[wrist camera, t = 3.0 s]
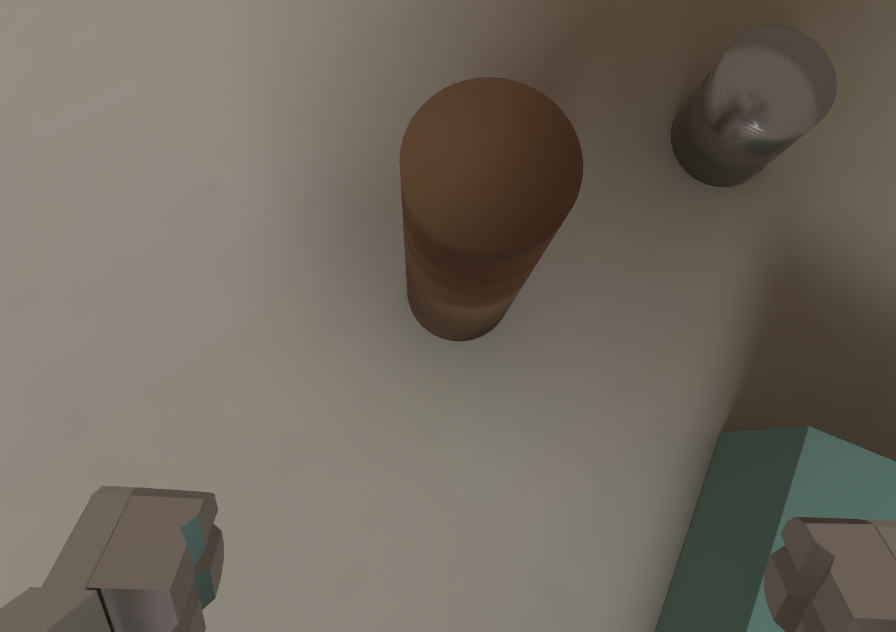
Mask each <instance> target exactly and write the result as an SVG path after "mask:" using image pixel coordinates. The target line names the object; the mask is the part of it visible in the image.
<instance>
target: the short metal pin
mask: <svg viewBox="0 0 896 632" xmlns="http://www.w3.org/2000/svg"><path fill="white" fill-rule="evenodd" d="M835 94H836V77H835V72H834V69H833V66H832V64H831V61H830V59H829V58H828V56H827V55H826V53H825V52H824V50H823V49H822V48H821V47H820V46H819V45H818V44H817V43H816V42H815V41H814V40H812V39H811V38H810V37H808V36H806V35H805V34H803V33H801V32H799V31H797V30H794V29H791V28H787V27H782V26H764V27H758V28H755V29H752V30H750V31H748V32H746V33H744V34H743V35H741V36H740V37H739V38H737V39H736V40H735V41H734V42H733V44H732V45H731V46H730V47H729V48H728V50H727V51H726V52H725V54H724V55H723V56H722V58H721V59H720V60H719V61H718V63H717V64H716V65H715V67H714V68H713V69H712V71H711V72H710V73H709V74H708V76H707V77H706V78H705V80H704V81H703V82H702V84H701V85H700V86H699V87H698V89H697V90H696V91H695V93H694V94H693V95H692V97H691V98H690V99H689V100H688V102H687V103H686V104H685V106H684V107H683V108H682V110H681V111H680V112H679V114H678V115H677V117H676V119H675V121H674V123H673V127H672V132H671V143H672V148H673V152H674V154H675V157H676V159H677V160H678V162H679V164H680V165H681V166H682V168H683V169H684V170H685V171H686V172H687V173H688V174H690V175H691V176H692V177H694V178H695V179H697V180H698V181H701V182H703V183H705V184H708V185H712V186H717V187H729V186H735V185H738V184H741V183H743V182H745V181H747V180H749V179H750V178H752V177H753V176H754V175H755V174H756V173H758V172H759V171H760V170H761V169H762V168H764V167H765V166H766V165H767V164H768V163H770V162H771V161H772V160H773V159H775V158H776V157H777V156H778V155H779V154H781V153H782V152H783V151H784V150H785V149H787V148H788V147H789V146H790V145H792V144H793V143H794V142H795V141H796V140H798V139H799V138H800V137H801V136H802V135H804V134H805V133H806V132H807V131H808V130H810V129H811V128H812V127H813V126H815V125H816V124H817V123H818V122H819V121H820V120H822V119H823V118H824V117H825V115H826V114H827V113H828V111H829V110H830V108H831V106H832V104H833V102H834V98H835Z"/></svg>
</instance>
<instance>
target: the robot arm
mask: <svg viewBox="0 0 896 632" xmlns="http://www.w3.org/2000/svg"><path fill="white" fill-rule="evenodd" d="M217 511H218V507H217V503H216V499H215V494H214V493H210V492H198V491H183V490H169V489H154V488H140V487H139V488H135V487H118V486H101V487H100V488H99V489H98V490H97V491H96V492H95V493H94V494H93V495H92V496H91V498H90V500H89V502H88V504H87V505H86V507H85V509H84V511H83V513H82V514H81V516H80V518H79V520H78V522H77V524H76V525H75V527H74V529H73V531H72V533H71V535H70V536H69V538H68V540H67V542H66V544H65V546H64V547H63V549H62V551H61V553H60V555H59V557H58V558H57V560H56V562H55V564H54V566H53V567H52V569H51V571H50V573H49V575H48V577H47V578H46V580H45V582H44V584H43V586H42V588H37V587H30V588H29V589H27V590H26V591H24V592H23V593H22V594H20V595H19V596H18V597H16V598H15V599H13V600H12V601H11V602H9V603H8V604H6V605H5V606H4V607H2V608H1V609H0V632H205V629H206V626H205V621H204V616H203V612H202V610H203V609H204V608H205V607H206V606H207V605H208V604H209V603H210V602H212V601H213V600H214V599H215V597H216V593H217V590H218V587H219V583H220V580H221V574H222V567H223V561H224V541H223V535H222V531H221V530H220V529H219V528H218V527H217V526H215V525H214V524H213V523H214V520H215V517H216V514H217ZM781 536H782V538H783V540H784V543H785V546H783V547H781V548H780V549H778V550H777V551H775V552H774V553H772V554H771V555H770V557H769V560H768V562H767V565H766V567H765V570H764V592H765V597H766V602H767V605H768V608H769V610H770V613H771V616H772V618H773V621H774V622H776V623H777V624H778V625H779V626H780V627H781V628H782V629H783V630H784V631H785V632H896V521H888V520H861V519H849V518H817V517H793V518H792V519H790V520H789V521H787V522H786V524H785V526H784V528H783V530H782V532H781Z"/></svg>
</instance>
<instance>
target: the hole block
mask: <svg viewBox="0 0 896 632" xmlns="http://www.w3.org/2000/svg"><path fill="white" fill-rule="evenodd" d="M793 517H817V518H849V519H861V520H888V521H896V461H893V460H891V459H888V458H886V457H884V456H881V455H879V454H876V453H874V452H871V451H869V450H866V449H864V448H862V447H859V446H857V445H854V444H852V443H849V442H847V441H844V440H842V439H840V438H837V437H835V436H832V435H830V434H827V433H825V432H822V431H820V430H818V429H815V428H813V427H810V426H803V427H788V428H773V429H759V430H744V431H729V432H721V434H720V437H719V440H718V443H717V446H716V449H715V452H714V455H713V458H712V461H711V464H710V467H709V470H708V473H707V476H706V479H705V482H704V485H703V488H702V491H701V494H700V497H699V501H698V504H697V507H696V510H695V513H694V516H693V519H692V522H691V525H690V528H689V531H688V534H687V537H686V540H685V543H684V546H683V549H682V552H681V555H680V558H679V561H678V564H677V568H676V571H675V574H674V577H673V580H672V583H671V586H670V589H669V592H668V595H667V598H666V601H665V604H664V607H663V610H662V613H661V616H660V619H659V622H658V625H657V628H656V631H655V632H785V631H784V630H783V629H782V628H781V627H780V626H779V625H778V624H777V623H776V622H774V621H773V618H772V616H771V613H770V610H769V608H768V605H767V602H766V597H765V592H764V570H765V567H766V565H767V562H768V560H769V557H770V555H771V554H772V553H774V552H775V551H777V550H778V549H780V548H781V547H783V546H785V543H784V540H783V538H782V536H781V532H782V530H783V528H784V526H785V524H786V522H787V521H789V520H790V519H792V518H793Z"/></svg>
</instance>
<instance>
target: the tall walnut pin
mask: <svg viewBox="0 0 896 632" xmlns="http://www.w3.org/2000/svg"><path fill="white" fill-rule="evenodd" d="M400 176H401V193H402V210H403V227H404V243H405V260H406V277H407V294H408V301H409V305H410V308H411V310H412V312H413V314H414V316H415V317H416V319H417V320H418V322H419V323H420V324H421V325H422V326H423V327H424V328H425V329H426V330H428V331H429V332H431V333H432V334H434V335H436V336H438V337H440V338H443V339H447V340H452V341H467V340H472V339H475V338H478V337H481V336H483V335H485V334H486V333H488V332H489V331H491V330H492V329H493V328H494V327H495V326H496V325H497V324H498V323H499V322H500V321H501V319H502V318H503V316H504V315H505V313H506V311H507V310H508V308H509V307H510V305H511V304H512V302H513V300H514V299H515V297H516V296H517V294H518V292H519V291H520V289H521V288H522V286H523V285H524V283H525V281H526V280H527V278H528V277H529V275H530V273H531V272H532V270H533V269H534V267H535V266H536V264H537V262H538V261H539V259H540V258H541V256H542V254H543V253H544V251H545V250H546V248H547V247H548V245H549V243H550V242H551V240H552V239H553V237H554V235H555V234H556V232H557V231H558V229H559V228H560V226H561V224H562V223H563V221H564V220H565V218H566V216H567V215H568V213H569V212H570V210H571V209H572V207H573V205H574V203H575V201H576V199H577V196H578V193H579V190H580V187H581V182H582V176H583V159H582V151H581V147H580V143H579V140H578V137H577V135H576V132H575V130H574V128H573V126H572V125H571V123H570V121H569V120H568V118H567V117H566V116H565V114H564V113H563V111H562V110H561V109H560V108H559V107H558V106H557V105H556V104H555V103H554V102H553V101H551V100H550V99H549V98H548V97H546V96H545V95H544V94H542V93H540V92H539V91H537V90H536V89H533V88H531V87H529V86H527V85H525V84H522V83H519V82H516V81H512V80H507V79H503V78H476V79H470V80H465V81H462V82H459V83H455V84H453V85H451V86H449V87H446V88H444V89H443V90H441V91H439V92H438V93H436V94H435V95H434V96H432V97H431V98H430V99H429V100H427V101H426V102H425V103H424V104H423V105H422V106H421V107H420V108H419V110H418V111H417V112H416V114H415V115H414V116H413V118H412V120H411V121H410V123H409V125H408V127H407V129H406V132H405V135H404V137H403V141H402V145H401V150H400Z"/></svg>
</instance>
